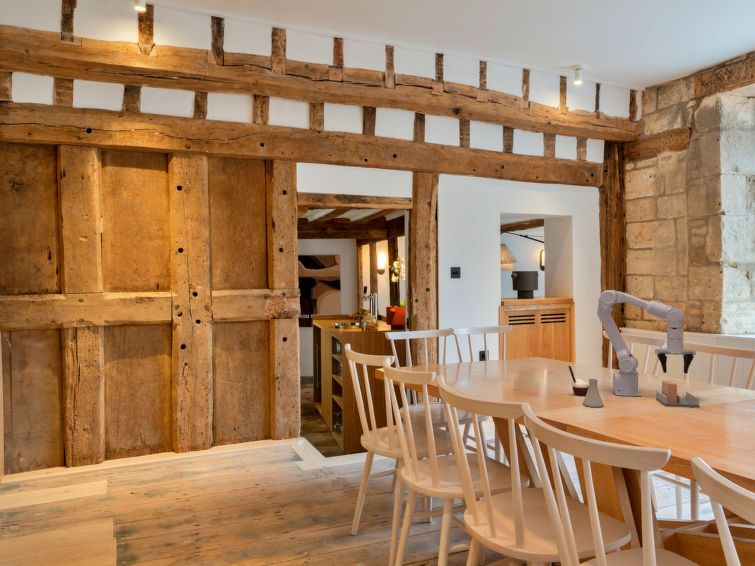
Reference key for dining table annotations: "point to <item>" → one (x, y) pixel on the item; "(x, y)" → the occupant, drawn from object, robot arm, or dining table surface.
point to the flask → (593, 395)
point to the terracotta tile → (670, 391)
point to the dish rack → (679, 400)
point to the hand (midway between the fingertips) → (675, 372)
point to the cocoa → (578, 385)
